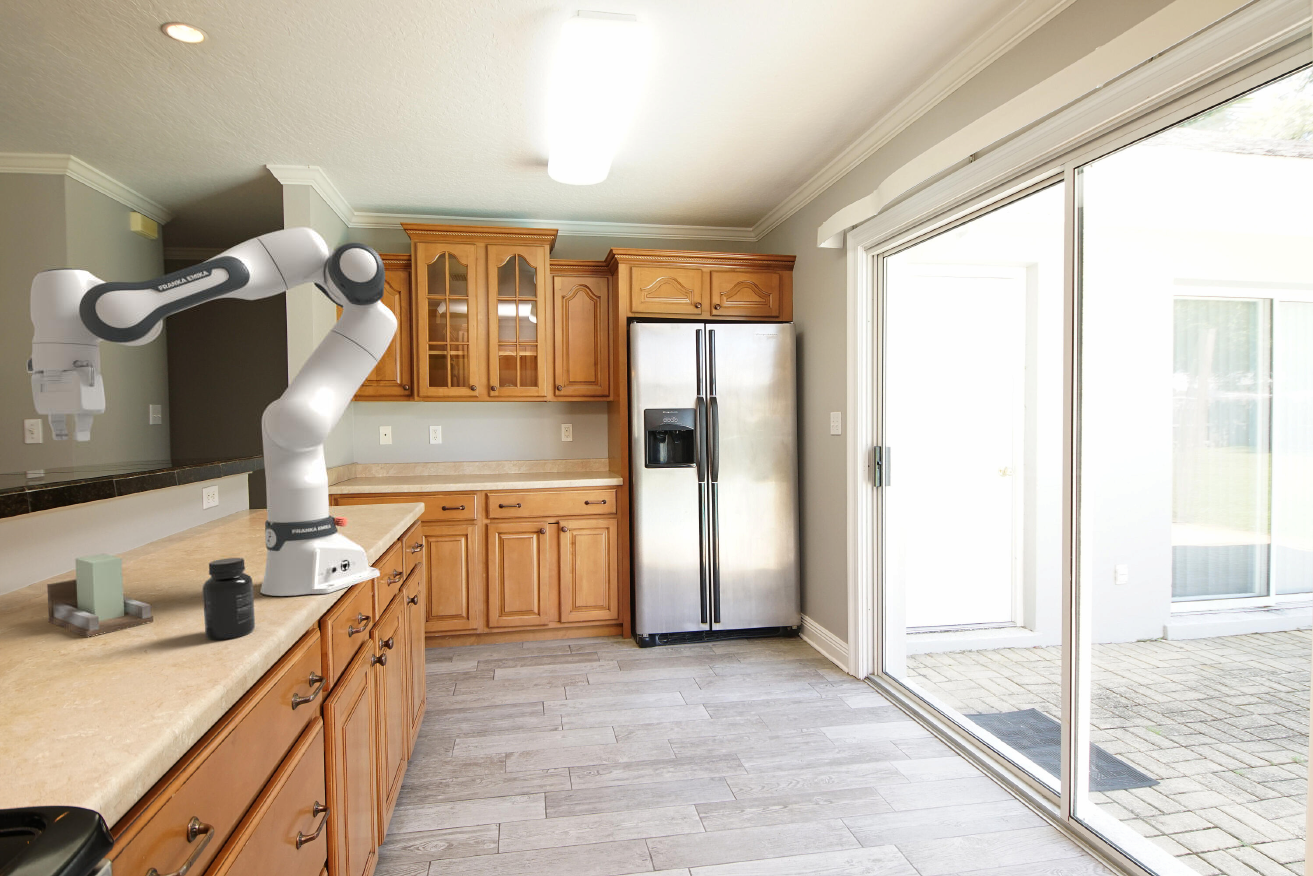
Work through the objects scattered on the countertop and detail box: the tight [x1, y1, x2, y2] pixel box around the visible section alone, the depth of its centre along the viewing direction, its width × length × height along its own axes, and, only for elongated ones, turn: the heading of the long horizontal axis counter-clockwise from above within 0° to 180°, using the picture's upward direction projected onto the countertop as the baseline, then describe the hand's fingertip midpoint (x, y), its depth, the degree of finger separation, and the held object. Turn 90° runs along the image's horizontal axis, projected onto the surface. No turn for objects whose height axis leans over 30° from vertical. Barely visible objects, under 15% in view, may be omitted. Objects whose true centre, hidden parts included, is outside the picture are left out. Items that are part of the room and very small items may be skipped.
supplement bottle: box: [202, 557, 256, 641], centre depth 107 cm, size 7×7×12 cm
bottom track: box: [46, 578, 154, 638], centre depth 113 cm, size 16×9×6 cm, turn 59°
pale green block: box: [74, 553, 124, 621], centre depth 113 cm, size 7×4×10 cm, turn 59°
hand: (71, 440), depth 117 cm, fingers open, 8 cm apart
